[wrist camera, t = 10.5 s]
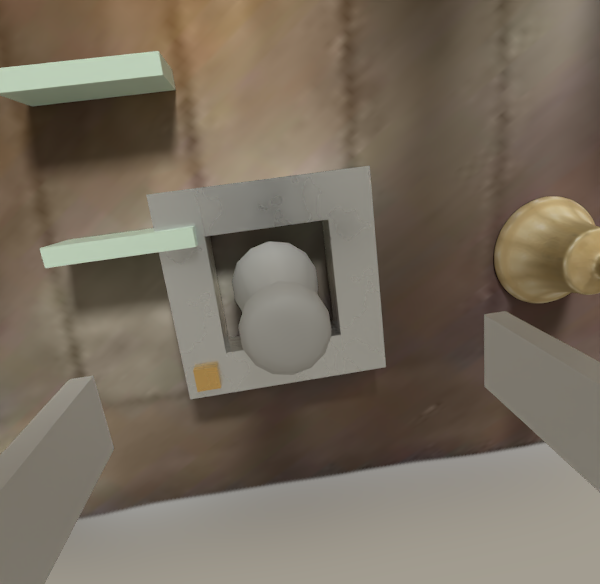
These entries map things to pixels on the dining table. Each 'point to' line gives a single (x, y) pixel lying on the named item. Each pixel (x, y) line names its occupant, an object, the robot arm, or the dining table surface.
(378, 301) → the socket
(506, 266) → the hand bell
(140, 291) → the dining table surface
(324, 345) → the salt shaker
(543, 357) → the robot arm
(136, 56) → the pale green rectangular blocks
